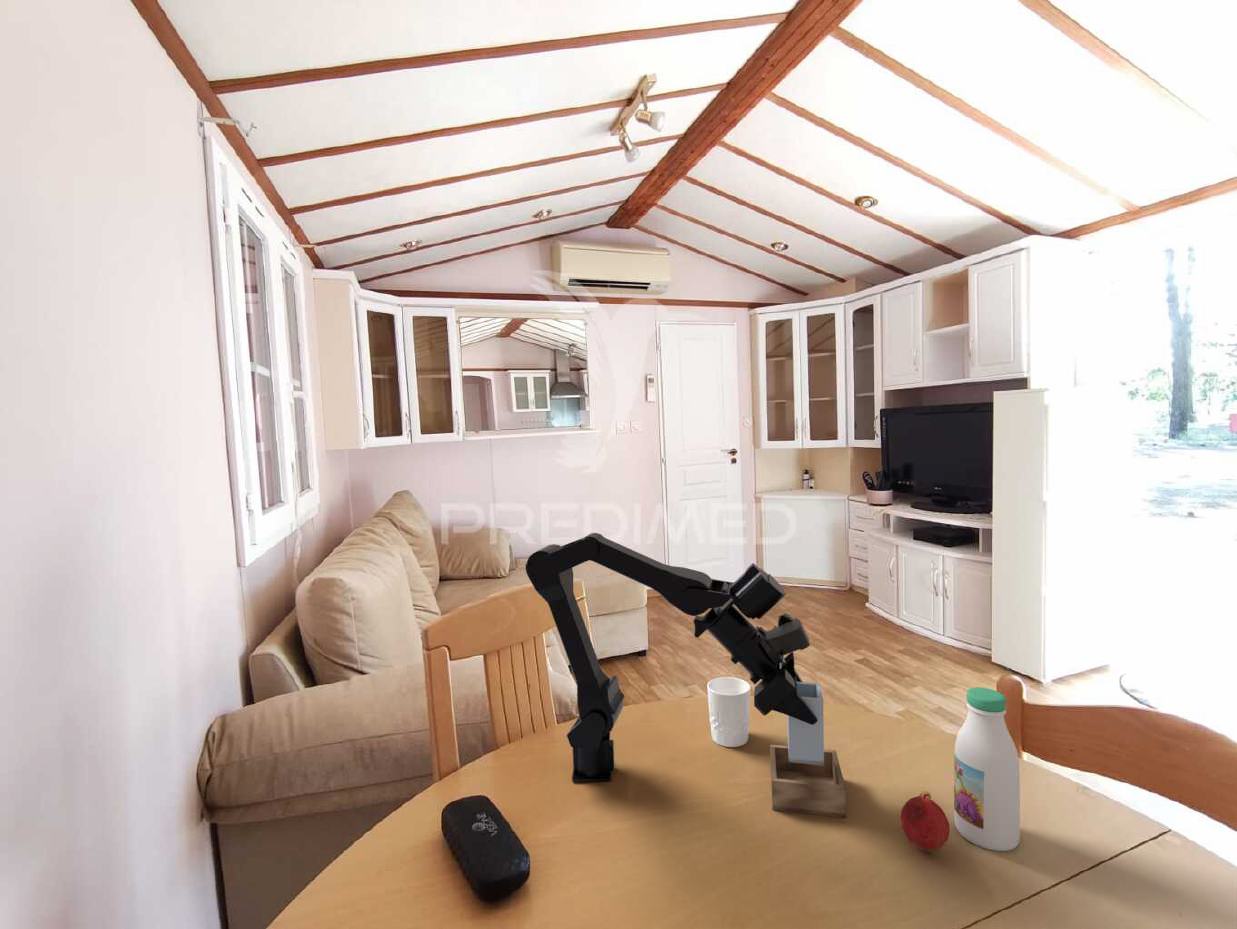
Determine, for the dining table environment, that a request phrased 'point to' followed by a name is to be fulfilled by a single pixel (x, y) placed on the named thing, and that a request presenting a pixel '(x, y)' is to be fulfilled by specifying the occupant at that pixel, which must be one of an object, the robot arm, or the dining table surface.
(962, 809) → the milk bottle
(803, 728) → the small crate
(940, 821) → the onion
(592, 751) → the robot arm
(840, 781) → the big crate
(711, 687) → the white cup
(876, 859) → the dining table surface
